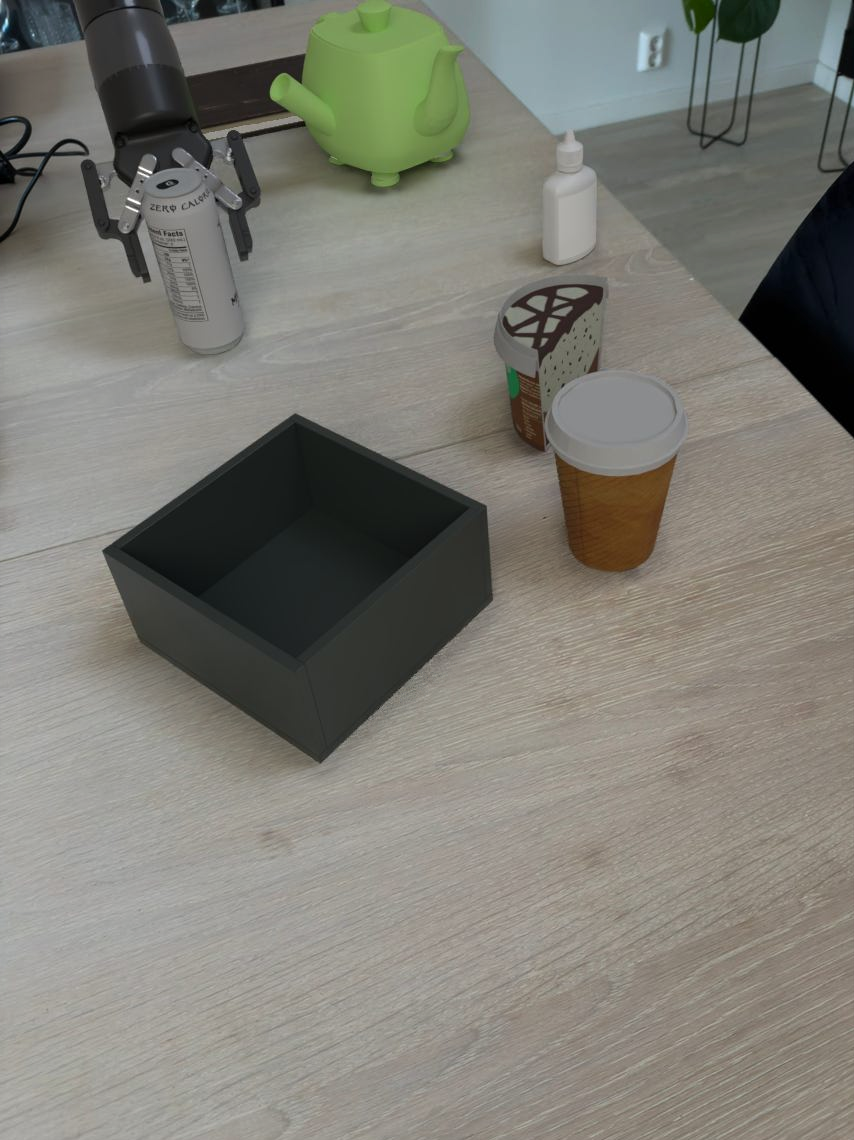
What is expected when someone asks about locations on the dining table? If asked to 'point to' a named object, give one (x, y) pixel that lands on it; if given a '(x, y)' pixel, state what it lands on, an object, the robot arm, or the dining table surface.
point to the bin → (306, 580)
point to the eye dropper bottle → (569, 205)
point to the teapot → (379, 90)
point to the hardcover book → (243, 96)
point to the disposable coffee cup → (615, 463)
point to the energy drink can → (193, 260)
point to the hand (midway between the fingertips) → (196, 269)
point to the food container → (549, 344)
